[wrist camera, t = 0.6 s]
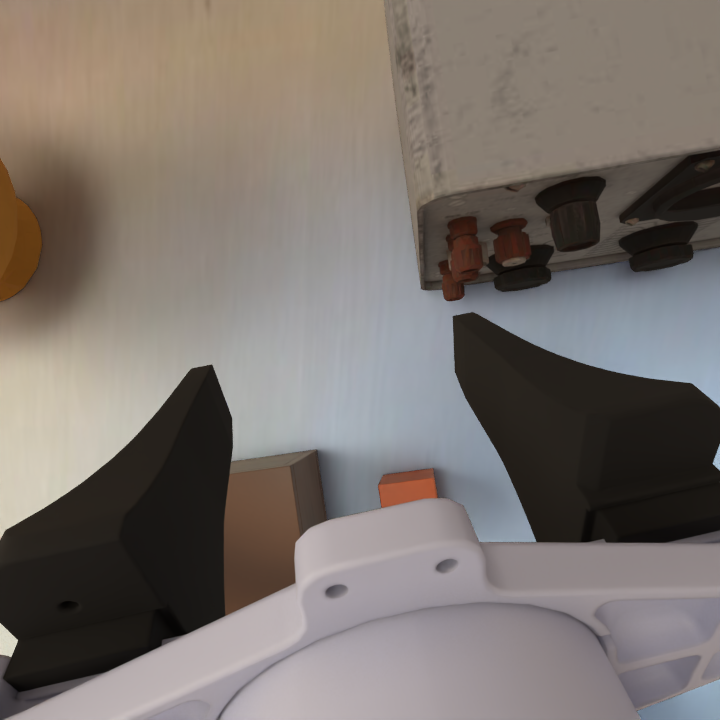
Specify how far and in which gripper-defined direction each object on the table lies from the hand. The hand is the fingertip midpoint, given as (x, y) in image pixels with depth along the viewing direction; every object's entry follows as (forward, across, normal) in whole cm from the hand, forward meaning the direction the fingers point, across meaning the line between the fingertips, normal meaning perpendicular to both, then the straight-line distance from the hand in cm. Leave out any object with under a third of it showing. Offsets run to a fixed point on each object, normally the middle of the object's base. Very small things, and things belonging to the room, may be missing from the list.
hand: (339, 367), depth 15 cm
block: (+15, -4, +24) cm, 29 cm away
